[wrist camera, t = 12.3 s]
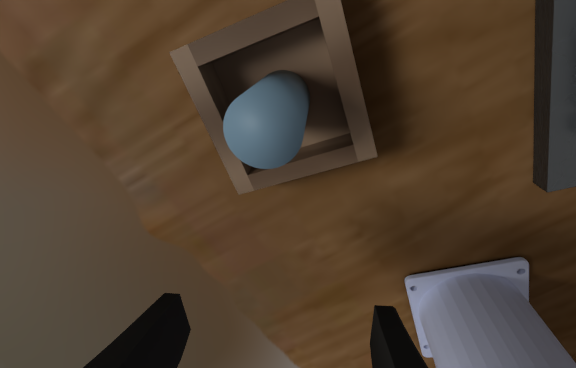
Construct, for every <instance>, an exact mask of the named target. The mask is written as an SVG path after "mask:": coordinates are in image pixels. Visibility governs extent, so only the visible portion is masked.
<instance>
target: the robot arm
mask: <svg viewBox="0 0 576 368" xmlns="http://www.w3.org/2000/svg"><path fill="white" fill-rule="evenodd" d="M519 269H520V270H519ZM405 286H406V290H407V294H408V298H409V302H410V306H411V310H412V315H413V319H414V323H415V327H416V331H417V335H418V339H419V344H420V348H421V352H422V355H423V356H425V357H433V359H434V362H435V365H436V368H576V363H575V362H574V360H573V359H572V358H571V356H570V355H569V354H568V352H567V351H566V350H565V349H564V347H563V346H562V345H561V343H560V342H559V341H558V339H557V338H556V337H555V336H554V334H553V333H552V332H551V330H550V329H549V328H548V327H547V325H546V324H545V323H544V321H543V320H542V319H541V317H540V316H539V315H538V314H537V312H536V311H535V310H534V308H533V307H532V306H531V304H530V303H529V263H528V261H527V260H526V259H525V258H523V257H516V258H510V259H504V260H498V261H492V262H486V263H480V264H474V265H468V266H462V267H456V268H451V269H445V270H439V271H433V272H427V273H421V274H415V275H410V276H407V277H406V278H405ZM412 286H414V287H412ZM190 330H191V329H190V326H189V323H188V319H187V316H186V313H185V310H184V306H183V303H182V300H181V297H180V294H172V293H164V294H163V295H162V296H161V297H160V298H159V299H158V300H157V301H156V302H155V303H154V304H152V305H151V306H150V307H149V308H148V309H147V310H146V311H145V312H144V313H143V314H142V315H141V316H140V317H139V318H138V319H137V320H136V321H135V322H133V323H132V324H131V325H130V326H129V327H128V328H127V329H126V330H125V331H124V332H123V333H122V334H120V335H119V336H118V337H117V338H116V339H115V340H114V341H113V342H112V343H111V344H110V345H108V346H107V347H106V348H105V349H104V350H103V351H102V352H101V353H99V354H98V355H97V356H96V357H95V358H94V359H93V360H91V361H90V362H89V363H88V364H87V365H86V366H84V367H83V368H177V367H178V364H179V362H180V360H181V357H182V354H183V351H184V349H185V346H186V342H187V339H188V336H189V333H190ZM370 349H371V359H372V368H428V367H427V365H426V363H425V362H424V360H423V359H422V357H421V355H420V354H419V352H418V350H417V348H416V347H415V345H414V343H413V341H412V340H411V338H410V336H409V334H408V332H407V331H406V329H405V327H404V325H403V323H402V321H401V319H400V317H399V315H398V313H397V311H396V309H395V308H394V307H393V306H377V305H375V307H374V315H373V323H372V330H371V338H370Z"/></svg>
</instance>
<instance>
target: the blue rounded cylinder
mask: <svg viewBox="0 0 576 368" xmlns="http://www.w3.org/2000/svg"><path fill="white" fill-rule="evenodd" d="M309 104H310V93H309V89H308V87H307V85H306V83H305V81H304V80H303V79H302V78H301V77H300V76H299V75H297V74H296V73H294V72H291V71H288V70H277V71H274V72H271V73H269V74H268V75H266V76H265V77H264V78H262V79H261V80H260V81H258V82H257V83H256V84H254V85H253V86H252V87H251V88H249V89H248V90H247V91H245V92H244V93H243V94H241V95H240V96H239V97H237V98H236V99H235V100H234V101H233V102H232V103H231V104H230V106H229V107H228V109H227V111H226V113H225V116H224V121H223V132H224V137H225V140H226V143H227V145H228V147H229V148H230V150H231V151H232V152H233V154H234V155H235V156H236V157H237V158H238V159H240V160H241V161H242V162H244V163H245V164H247V165H249V166H252V167H255V168H259V169H273V168H277V167H280V166H283V165H285V164H286V163H288V162H289V161H291V160H292V159H293V158H294V157H295V156H296V154H297V153H298V151H299V149H300V147H301V145H302V141H303V136H304V131H305V126H306V120H307V115H308V110H309Z"/></svg>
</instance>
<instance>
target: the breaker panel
mask: <svg viewBox="0 0 576 368" xmlns="http://www.w3.org/2000/svg"><path fill="white" fill-rule="evenodd" d="M533 183H535V184H536V185H537V186H539V187H540V188H542V189H543V190H544V191H546V192H551V191H556V190H561V189H565V188H570V187H575V186H576V0H536V6H535V84H534V163H533Z"/></svg>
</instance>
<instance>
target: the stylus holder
mask: <svg viewBox="0 0 576 368" xmlns="http://www.w3.org/2000/svg"><path fill="white" fill-rule="evenodd" d="M169 53H170V55H171V57H172V59H173V61H174V63H175V65H176V67H177V69H178V71H179V73H180V75H181V77H182V80H183V82H184V84H185V86H186V88H187V90H188V92H189V94H190V96H191V98H192V100H193V102H194V104H195V106H196V108H197V110H198V112H199V114H200V116H201V119H202V121H203V123H204V125H205V127H206V129H207V131H208V133H209V135H210V137H211V139H212V141H213V143H214V145H215V147H216V149H217V151H218V153H219V155H220V158H221V160H222V162H223V164H224V166H225V168H226V170H227V172H228V174H229V176H230V178H231V180H232V182H233V184H234V186H235V188H236V190H237V192H238V194H243V193H247V192H250V191H254V190H258V189H261V188H265V187H269V186H272V185H276V184H280V183H283V182H287V181H291V180H294V179H298V178H302V177H305V176H309V175H312V174H316V173H320V172H323V171H327V170H331V169H334V168H338V167H342V166H345V165H349V164H353V163H356V162H360V161H364V160H367V159H371V158H375V157H378V156H377V152H376V148H375V143H374V139H373V135H372V131H371V127H370V122H369V118H368V114H367V110H366V105H365V101H364V97H363V93H362V88H361V84H360V80H359V76H358V71H357V67H356V63H355V59H354V54H353V50H352V46H351V42H350V38H349V33H348V29H347V25H346V21H345V16H344V12H343V8H342V4H341V0H287V1H285V2H283V3H280V4H278V5H276V6H273V7H271V8H269V9H267V10H264V11H262V12H260V13H258V14H255V15H253V16H251V17H248V18H246V19H244V20H242V21H239V22H237V23H235V24H233V25H230V26H228V27H226V28H224V29H221V30H219V31H217V32H214V33H212V34H210V35H208V36H205V37H203V38H201V39H199V40H196V41H194V42H192V43H190V44H187V45H185V46H183V47H180V48H178V49H176V50H174V51H171V52H169ZM277 70H288V71H291V72H294V73H296V74H297V75H299V76H300V77H301V78H302V79H303V80H304V81H305V83H306V85H307V87H308V89H309V93H310V104H309V110H308V115H307V120H306V126H305V131H304V136H303V141H302V145H301V147H300V149H299V151H298V153H297V154H296V156H295V157H294V158H293V159H292V160H291V161H289V162H288V163H286V164H285V165H283V166H280V167H277V168H273V169H259V168H255V167H252V166H249V165H247V164H245V163H244V162H242V161H241V160H240V159H238V158H237V157H236V156H235V155H234V154H233V152H232V151H231V150H230V148H229V147H228V145H227V143H226V140H225V137H224V132H223V121H224V116H225V113H226V111H227V109H228V107H229V106H230V104H231V103H232V102H233V101H234V100H235V99H236V98H237V97H239V96H240V95H241V94H243V93H244V92H245V91H247V90H248V89H249V88H251V87H252V86H253V85H254V84H256V83H257V82H258V81H260V80H261V79H262V78H264V77H265V76H266V75H268V74H269V73H271V72H274V71H277Z"/></svg>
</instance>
